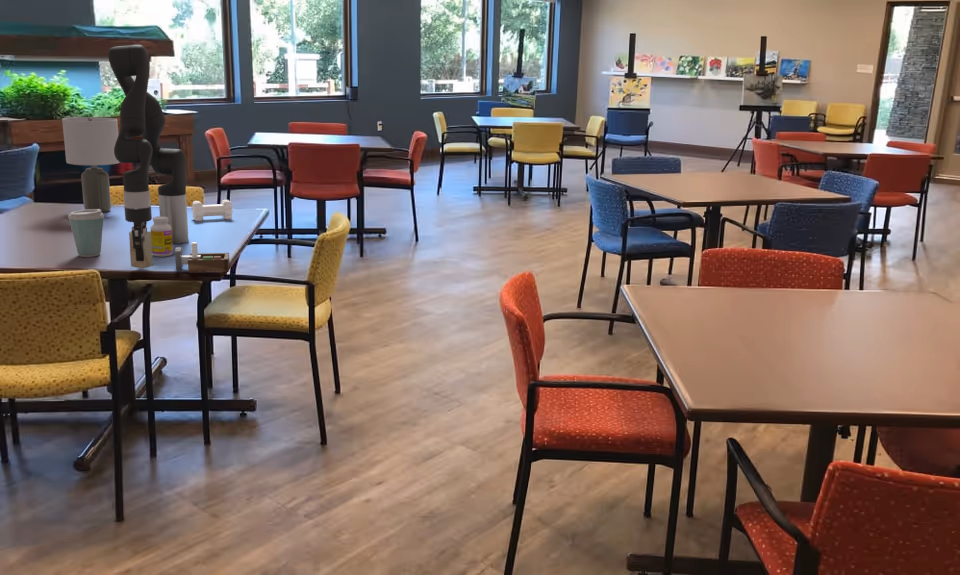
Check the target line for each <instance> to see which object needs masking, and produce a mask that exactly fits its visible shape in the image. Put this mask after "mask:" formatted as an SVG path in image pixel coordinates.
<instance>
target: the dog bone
mask: <svg viewBox="0 0 960 575" xmlns="http://www.w3.org/2000/svg"><path fill="white" fill-rule="evenodd" d="M191 204H192V207H191V211H192V218H193V220H195V221H196V222H202V221H203V220H204V217H216V216H217V217H218V216H221V217H222V218H223V219H224V220H231V219H232V218H233V212H234V210H233V205H232V201H230V200H229V199H223V200H221V202H220V204H218V203H217V204H203V203H202V202H201V201H199V200H193V202H192V203H191Z"/></svg>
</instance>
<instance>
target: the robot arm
mask: <svg viewBox="0 0 960 575" xmlns="http://www.w3.org/2000/svg"><path fill="white" fill-rule="evenodd" d="M107 57H108V61H109V66H110V68H111V70H112V72H113V75H114V76H115V78H116V80H117V82H118V84H119V86H120V88H121V90H122V92H123V95H124V96H125V97H124V99H123V100H122V102H121V103H120V104H121V105H120V108H119V109H120V110H119V119H120V120H119V130H118V138H117V141H116V143H115V147H114V155H115V158H116V159H117V160H118V161H119V162H120V163H122V164H140V166H139V167H138V168H136V169H132V170H127V171H125V172H123V173H122V174H123V175H122V182H123V206H124V207H123V208H124V217H125V221H126V222H128V223H133V225H132V227H131V232H132V238H133V248H134V249H135V252H136V261H144V251H143V248H144V247H143V243H144V242H145V233H146V231H148V226H147V225H148V224H147V222H150V221H151V220H153V214H152V204H151V203H152V201H151V194H150V188H149V170H150V166H151V168H152V170H153V171H154V173H156V174H158V175H161V176H162V175H163V176H164V175H165V176H172V179H171V180H170V181H169V182H167V183H163V184H161V185H159V186H158V187H157V192H158V194H157V195H158V206H159V208H158V209H159V216H165V217H168V224H169V225H170V226H171V227H172V242H173V245H174V244H183V243H188V242H189V241H190V240H189V226H188V221H189V220H188V210H187V209H188V207H187V206H188V205H187V190H186V188H187V158H186V155H185V152H184V151H183V149H179V148H163V147H162V146H161V145H160V138H161V134H162V132H163V131H164V128H165V125H166V117H165V114H164V112H163V110H162V109H163V108H162V107H161V104H160V102H159V101H158V99H157V98H156V97H154V96H153V95H152V94H151V93H149V91H148V87H149V80H150V79H149V78H150V69H151V68H150V67H151V64H150V63H151V62H150V56H149V54H148V51H147V49H146V47H145V46H143V45H141V44H132V45H131V44H130V45H118V46H113V47H110V48H109V49H108V53H107ZM133 77H135V79H134V78H133ZM137 137H142V139H140V138H139V139H136V138H137ZM133 138H135V139H133ZM142 234H143V238H142V236H141V235H142ZM137 242H140V245H137Z"/></svg>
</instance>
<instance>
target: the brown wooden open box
mask: <svg viewBox="0 0 960 575" xmlns="http://www.w3.org/2000/svg"><path fill="white" fill-rule="evenodd" d="M189 255H192V252H191V253H189ZM198 255H201V259H188V264H187V269H188V270H187V272H188V273H189V274H193V273H197V274H198V273H229V272H230V252H202V253H201V252H199V253H198Z"/></svg>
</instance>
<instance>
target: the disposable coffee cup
mask: <svg viewBox="0 0 960 575" xmlns="http://www.w3.org/2000/svg"><path fill="white" fill-rule="evenodd" d="M104 217H105V216H104V212H103V213H102V212H101V210H100V209H88V210H85V209H81V210H80V209H79V210H75V211H72V212H69V214H68V216H67V218H68V220H69V224H70V228H71V232H72V236H73V241H74V243H75V247H76V251H77V254H78V256H79V257H81V258H82V257H84V258H91V257H98V256H100V255H101V252H102V251H101V250H102V238H103V229H104V228H103V227H104V226H103V224H104Z"/></svg>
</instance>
